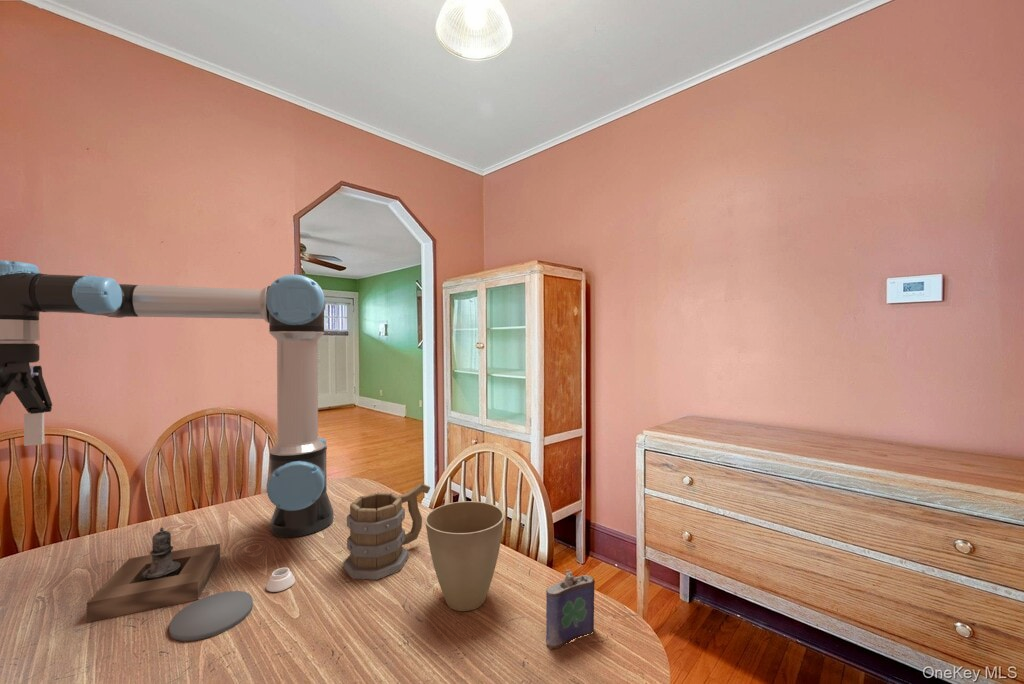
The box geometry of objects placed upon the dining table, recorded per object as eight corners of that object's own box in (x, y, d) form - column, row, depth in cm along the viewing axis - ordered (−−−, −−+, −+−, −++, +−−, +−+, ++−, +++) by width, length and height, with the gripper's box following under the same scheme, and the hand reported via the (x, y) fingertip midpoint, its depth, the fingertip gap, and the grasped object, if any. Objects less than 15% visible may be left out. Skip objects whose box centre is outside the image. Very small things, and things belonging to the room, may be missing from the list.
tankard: (359, 587, 82) (358, 513, 82) (337, 562, 92) (337, 495, 91) (444, 553, 95) (444, 488, 95) (418, 534, 105) (418, 475, 105)
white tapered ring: (282, 577, 86) (260, 590, 81) (282, 563, 86) (260, 575, 81) (300, 581, 84) (279, 596, 80) (300, 567, 84) (279, 580, 80)
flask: (551, 651, 65) (551, 584, 65) (541, 639, 68) (541, 574, 68) (597, 633, 69) (597, 569, 69) (587, 622, 72) (587, 561, 72)
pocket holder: (220, 558, 93) (219, 543, 93) (198, 599, 78) (197, 581, 78) (129, 574, 87) (129, 558, 87) (86, 622, 72) (86, 602, 72)
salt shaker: (158, 597, 79) (158, 535, 79) (134, 593, 80) (133, 532, 80) (188, 580, 85) (187, 522, 85) (165, 577, 86) (164, 519, 86)
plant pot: (514, 584, 83) (514, 505, 83) (486, 634, 69) (486, 539, 69) (448, 571, 88) (448, 496, 88) (409, 615, 74) (409, 526, 74)
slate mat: (257, 590, 81) (257, 585, 81) (245, 629, 70) (245, 623, 70) (183, 605, 77) (183, 600, 77) (157, 650, 66) (157, 643, 66)
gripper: (27, 342, 89) (28, 440, 89) (-81, 342, 66) (-80, 475, 66) (74, 342, 92) (74, 437, 92) (-14, 342, 69) (-14, 469, 69)
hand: (10, 453), depth 79 cm, fingers open, 13 cm apart
